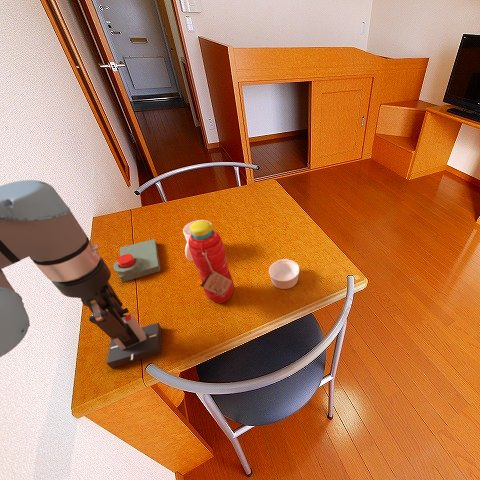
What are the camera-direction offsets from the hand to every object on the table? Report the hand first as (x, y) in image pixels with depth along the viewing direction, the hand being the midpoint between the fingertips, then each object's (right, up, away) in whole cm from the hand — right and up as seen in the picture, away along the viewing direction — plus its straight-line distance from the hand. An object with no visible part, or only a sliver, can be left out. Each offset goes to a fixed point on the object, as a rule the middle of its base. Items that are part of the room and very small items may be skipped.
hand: (132, 339), depth 63 cm
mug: (+5, +17, +26) cm, 32 cm away
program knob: (0, -1, +1) cm, 1 cm away
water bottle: (+16, +6, +14) cm, 22 cm away
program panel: (0, -3, +2) cm, 4 cm away
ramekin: (+32, +11, +20) cm, 40 cm away
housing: (-13, +16, +24) cm, 31 cm away
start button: (-13, +16, +18) cm, 27 cm away
